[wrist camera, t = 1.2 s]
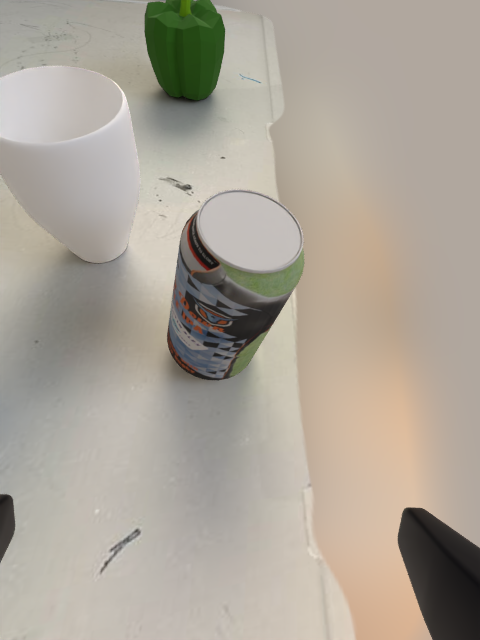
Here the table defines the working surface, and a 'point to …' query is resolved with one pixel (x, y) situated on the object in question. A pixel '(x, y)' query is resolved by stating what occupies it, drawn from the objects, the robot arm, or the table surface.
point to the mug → (71, 157)
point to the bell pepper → (185, 46)
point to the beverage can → (232, 281)
